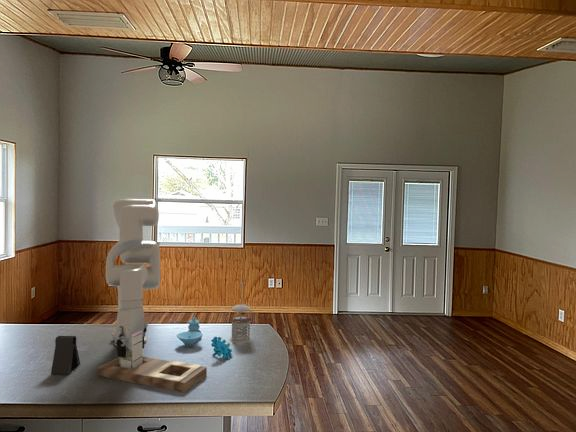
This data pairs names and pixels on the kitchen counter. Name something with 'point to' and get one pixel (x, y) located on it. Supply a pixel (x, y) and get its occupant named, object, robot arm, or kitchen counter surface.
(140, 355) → the syrup box
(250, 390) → the kitchen counter surface
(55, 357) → the phone stand
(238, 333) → the french press
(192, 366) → the tray
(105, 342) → the kitchen counter surface
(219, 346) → the gear
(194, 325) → the light blue rounded piece
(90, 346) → the kitchen counter surface
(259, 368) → the kitchen counter surface
